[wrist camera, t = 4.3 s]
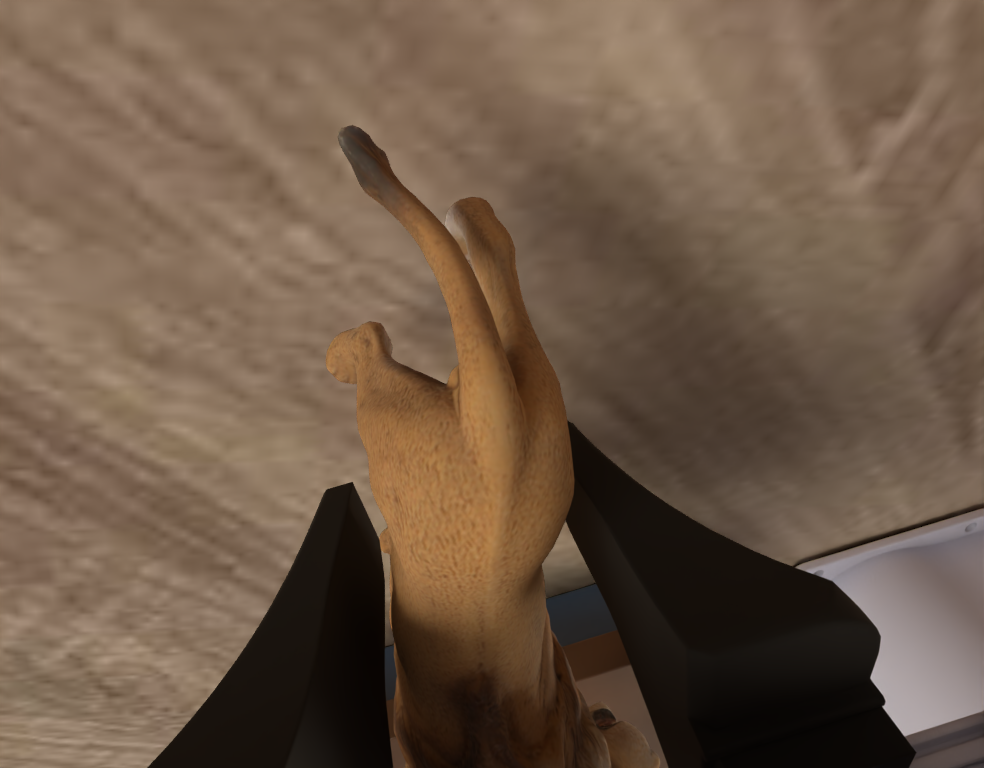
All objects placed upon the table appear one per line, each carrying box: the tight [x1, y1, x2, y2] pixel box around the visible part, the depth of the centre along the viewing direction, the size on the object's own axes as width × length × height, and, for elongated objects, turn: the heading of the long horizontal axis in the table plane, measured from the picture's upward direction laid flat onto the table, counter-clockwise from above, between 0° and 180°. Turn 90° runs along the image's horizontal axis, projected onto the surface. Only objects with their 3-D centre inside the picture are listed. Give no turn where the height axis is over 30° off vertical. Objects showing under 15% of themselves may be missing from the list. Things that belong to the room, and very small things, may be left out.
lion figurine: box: [326, 125, 660, 768], centre depth 11 cm, size 15×5×9 cm, turn 11°
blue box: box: [385, 584, 617, 701], centre depth 25 cm, size 11×13×4 cm
